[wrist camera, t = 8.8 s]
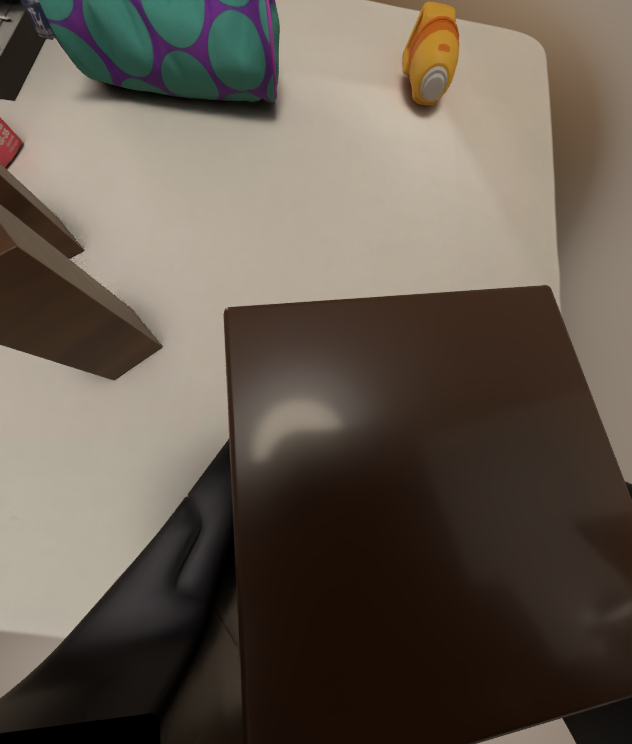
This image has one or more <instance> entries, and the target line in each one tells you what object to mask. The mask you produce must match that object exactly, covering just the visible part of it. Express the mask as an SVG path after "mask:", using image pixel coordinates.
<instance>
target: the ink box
mask: <svg viewBox="0 0 632 744" xmlns="http://www.w3.org/2000/svg"><path fill="white" fill-rule="evenodd" d="M21 144H22V140H21V139H20V138H19V137H18V136H17V135H16V134H15V133H14V132H13V131H12V130H11V129H10V128H9V127H8V125H7V124H6V123H5V122H4V121H3V120H2V119H1V118H0V164H1V165H2V166H3V167H4V168H5V167H6V166H7V165H8V163H9V162H10V161H11V160H12V159H13V157H14V156H15V154H16V153H17V151H18V149H19V148H20V146H21Z"/></svg>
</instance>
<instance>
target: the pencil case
mask: <svg viewBox="0 0 632 744" xmlns="http://www.w3.org/2000/svg"><path fill="white" fill-rule="evenodd" d="M21 2H22V4H23V5H24V7H25V9H26V11H27V13H28V15H29V17H30V19H31V21H32V23H33V25H34V27H35V29H36V31H37V33H38V35H39V36H40V37H42V38H46V39H52V40H53V38H56V39H57V41H58V42H59V44H60V45H61V47H62V48H63V50H64V51H65V52H66V54H67V55H68V56H69V58H70V59H71V61H72V62H73V63H74V64H75V65H76V67H77V68H78V69H79V70H80V71H81V72H82V73H83V74H85V75H86V76H87V77H89V78H91V79H94V80H97V81H100V82H105V83H108V84H111V85H115V86H121V87H124V88H128V89H133V90H138V91H149V92H155V93H160V94H164V95H170V96H175V97H185V98H195V99H206V100H224V101H243V100H246V101H249V102H256V101H259V100H261V99H264V100H265V101H267V102H271V103H274V102H275V100H276V98H277V89H276V87H277V82H278V74H279V33H280V25H279V18H278V13H277V8H276V3H275V0H26V2H25V1H24V0H21ZM33 5H35V7H34V6H33Z"/></svg>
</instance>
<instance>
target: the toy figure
mask: <svg viewBox="0 0 632 744" xmlns="http://www.w3.org/2000/svg"><path fill="white" fill-rule="evenodd" d="M455 22H456V18H455V9H454V8H453V7H451V6H449V5H445V4H441V3H436V2H426V3H425V4H424V6H423V8H422V10H421V12H420V14H419V17H418V19H417V21H416V24H415V26H414V29H413V31H412V33H411V36H410V38H409V40H408V43H407V45H406V48H405V50H404V53H403V72H404V73H405V74H407V75H410V82H411V86H412V95H413V100H414V101H415V102H416V103H418V104H421V105H432V104H435V102H436V101H437V100H438V99H439V98H440V97H442V95H443V94H444V93H445V92H446V91H447V89H448V87H449V86H450V84H451V82H452V79H453V76H454V73H455V69H456V66H457V62H458V55H459V33H458V27H457V25H456V23H455Z"/></svg>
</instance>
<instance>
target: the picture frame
mask: <svg viewBox="0 0 632 744" xmlns="http://www.w3.org/2000/svg"><path fill="white" fill-rule="evenodd" d="M24 1H25V2H26V0H24ZM33 6H34V7H35V5H33ZM44 40H45V38H42V37H40V36H39V35H38V33H37V31H36V29H35V27H34V25H33V23H32V21H31V19H30V17H29V15H28V13H27V11H26V9H25V7H24V5H23V4H22V2H21V0H0V98H2V99H8V100H15V98H16V96H17V94H18V92H19V90H20V88H21V86H22V84H23V82H24V80H25V78H26V76H27V74H28V72H29V70H30V68H31V66H32V64H33V62H34V60H35V58H36V56H37V54H38V52H39V50H40V48H41V46H42V44H43V42H44Z"/></svg>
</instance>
